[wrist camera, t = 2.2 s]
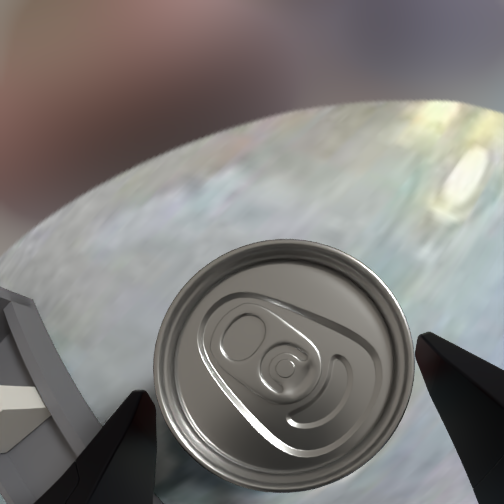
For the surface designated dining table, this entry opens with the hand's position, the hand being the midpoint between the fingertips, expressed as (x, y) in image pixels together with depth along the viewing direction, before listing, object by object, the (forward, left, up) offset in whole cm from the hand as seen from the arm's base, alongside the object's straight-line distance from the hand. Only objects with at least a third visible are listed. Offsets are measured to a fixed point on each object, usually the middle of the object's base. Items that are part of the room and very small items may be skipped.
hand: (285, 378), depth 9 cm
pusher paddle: (-7, +17, -7) cm, 20 cm away
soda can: (0, 0, -8) cm, 8 cm away
